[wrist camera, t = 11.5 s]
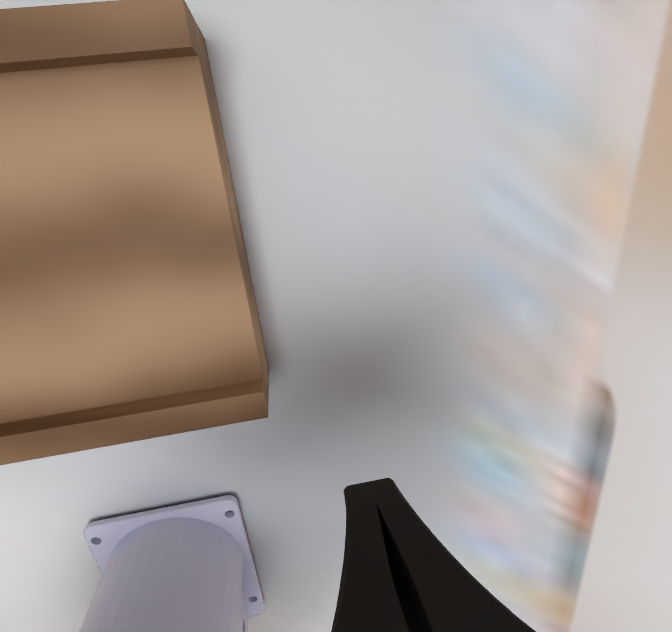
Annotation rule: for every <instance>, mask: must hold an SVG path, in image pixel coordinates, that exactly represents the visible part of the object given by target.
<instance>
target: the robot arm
mask: <svg viewBox="0 0 672 632" xmlns="http://www.w3.org/2000/svg"><path fill="white" fill-rule="evenodd" d="M344 496H345V503H346V538H345V551H344V561H343V568H342V575H341V582H340V589H339V595H338V601H337V607H336V612H335V617H334V621H333V626H332V631H331V632H536V631H534V630H533V629H532V628H531V627H529V626H528V625H527V624H526V623H524V622H523V621H522V620H521V619H519V618H518V617H517V616H516V615H515V614H513V613H512V612H511V611H510V610H509V609H508V608H507V607H505V606H504V605H503V604H502V603H501V602H500V601H499V600H497V599H496V598H495V597H494V596H493V595H492V594H491V593H490V592H489V591H488V590H487V589H486V588H484V587H483V586H482V585H481V584H480V583H479V582H478V581H477V580H476V579H475V578H474V577H473V576H472V575H471V574H470V573H469V572H468V571H467V570H466V569H465V568H464V567H463V566H462V565H461V564H460V563H459V562H458V561H457V560H456V559H455V558H454V556H453V555H452V554H451V553H450V552H449V551H448V550H447V549H446V548H445V547H444V546H443V545H442V543H441V542H440V541H439V540H438V539H437V538H436V537H435V535H434V534H433V533H432V532H431V531H430V529H429V528H428V527H427V526H426V525H425V524H424V522H423V521H422V520H421V519H420V517H419V516H418V515H417V514H416V512H415V511H414V510H413V508H412V507H411V506H410V505H409V503H408V502H407V501H406V499H405V498H404V496H403V495H402V494H401V492H400V491H399V489H398V488H397V486H396V485H395V483H394V481H393V480H392V479H390V478H385V479H380V480H375V481H370V482H365V483H360V484H355V485H350V486H347V487H346V488H345V489H344ZM228 511H232V512H228ZM83 535H84V537H85V539H86V542H87V544H88V546H89V548H90V550H91V552H92V554H93V557H94V559H95V561H96V563H97V565H98V567H99V569H100V572H101V574H102V578H101V580H100V583H99V585H98V588H97V590H96V592H95V595H94V597H93V600H92V602H91V605H90V607H89V609H88V612H87V614H86V617H85V619H84V621H83V624H82V626H81V629H80V631H79V632H247V629H248V617H250V616H255V615H258V614H261V613H262V612H263V611H264V600H263V596H262V592H261V588H260V585H259V581H258V577H257V573H256V569H255V565H254V562H253V558H252V554H251V550H250V546H249V543H248V539H247V535H246V531H245V527H244V523H243V520H242V516H241V512H240V508H239V504H238V501H237V499H236V498H235V497H234V496H231V495H226V496H221V497H216V498H211V499H206V500H200V501H195V502H190V503H185V504H180V505H175V506H170V507H165V508H160V509H155V510H149V511H144V512H139V513H134V514H129V515H124V516H119V517H114V518H109V519H104V520H98V521H93V522H90V523H88V524H87V525H86V527H85V529H84V532H83ZM96 537H98V538H96Z"/></svg>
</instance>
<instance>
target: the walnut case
mask: <svg viewBox="0 0 672 632" xmlns="http://www.w3.org/2000/svg"><path fill="white" fill-rule="evenodd" d="M268 389H269V369H268V364H267V358H266V353H265V348H264V343H263V338H262V333H261V327H260V322H259V317H258V312H257V307H256V302H255V296H254V291H253V286H252V281H251V276H250V271H249V266H248V260H247V255H246V250H245V245H244V240H243V235H242V229H241V224H240V219H239V214H238V209H237V204H236V198H235V193H234V188H233V183H232V178H231V173H230V168H229V162H228V157H227V152H226V147H225V142H224V137H223V131H222V126H221V121H220V116H219V111H218V106H217V100H216V95H215V90H214V85H213V80H212V75H211V69H210V64H209V59H208V54H207V49H206V44H205V39H204V36H203V35H202V33H201V31H200V29H199V27H198V25H197V23H196V21H195V20H194V18H193V16H192V14H191V12H190V10H189V8H188V7H187V5H186V3H185V1H184V0H119V1H105V2H92V3H78V4H65V5H51V6H38V7H24V8H10V9H0V465H4V464H10V463H15V462H21V461H27V460H32V459H38V458H43V457H49V456H55V455H60V454H66V453H71V452H77V451H82V450H88V449H94V448H99V447H105V446H110V445H116V444H122V443H127V442H133V441H138V440H144V439H150V438H155V437H161V436H166V435H172V434H177V433H183V432H189V431H194V430H200V429H205V428H211V427H217V426H222V425H228V424H233V423H239V422H245V421H250V420H256V419H261V418H267V417H268Z"/></svg>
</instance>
